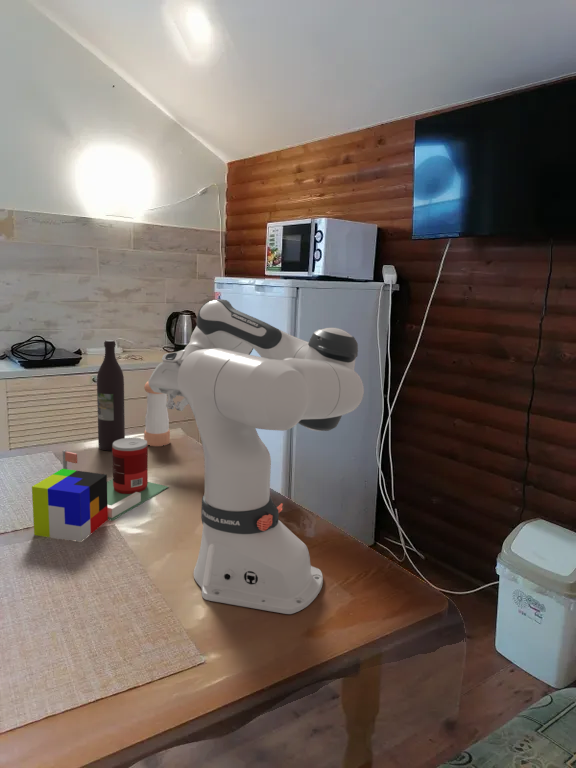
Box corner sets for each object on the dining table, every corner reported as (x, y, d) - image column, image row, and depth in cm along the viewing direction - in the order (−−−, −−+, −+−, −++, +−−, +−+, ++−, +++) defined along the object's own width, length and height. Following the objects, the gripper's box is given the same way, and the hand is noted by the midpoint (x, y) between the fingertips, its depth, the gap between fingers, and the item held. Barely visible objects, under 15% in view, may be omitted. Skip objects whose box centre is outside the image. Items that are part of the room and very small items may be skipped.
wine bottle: (96, 444, 167) (93, 339, 160) (122, 442, 170) (120, 338, 164) (100, 452, 161) (98, 343, 154) (127, 449, 164) (125, 342, 157)
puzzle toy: (81, 542, 112) (79, 493, 110) (34, 535, 114) (31, 486, 112) (107, 520, 122) (106, 474, 120) (63, 513, 124) (62, 468, 122)
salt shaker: (146, 447, 167) (145, 380, 163) (142, 439, 173) (142, 375, 169) (172, 445, 169) (172, 379, 165) (167, 437, 176) (167, 374, 172)
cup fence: (140, 501, 131) (140, 449, 128) (112, 517, 122) (111, 462, 120) (92, 489, 136) (91, 439, 133) (62, 504, 127) (60, 451, 125)
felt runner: (168, 487, 140) (168, 486, 140) (111, 520, 122) (111, 519, 122) (120, 476, 145) (120, 475, 145) (59, 506, 127) (59, 505, 127)
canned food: (153, 483, 141) (152, 439, 139) (138, 496, 133) (138, 449, 131) (122, 479, 142) (122, 435, 140) (107, 492, 134) (106, 446, 132)
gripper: (233, 376, 155) (213, 421, 148) (168, 367, 163) (146, 409, 156) (225, 362, 150) (204, 408, 144) (158, 353, 158) (135, 396, 151)
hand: (173, 408), depth 150 cm, fingers closed
